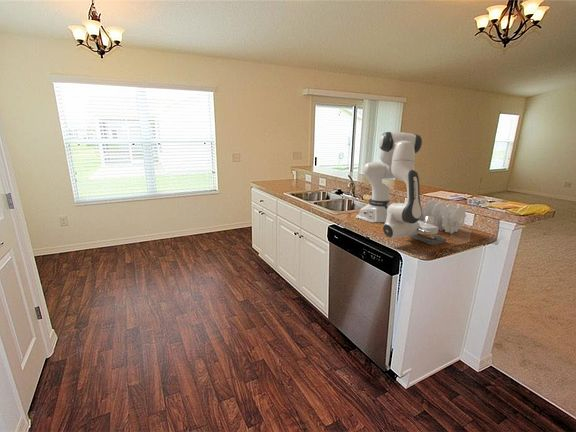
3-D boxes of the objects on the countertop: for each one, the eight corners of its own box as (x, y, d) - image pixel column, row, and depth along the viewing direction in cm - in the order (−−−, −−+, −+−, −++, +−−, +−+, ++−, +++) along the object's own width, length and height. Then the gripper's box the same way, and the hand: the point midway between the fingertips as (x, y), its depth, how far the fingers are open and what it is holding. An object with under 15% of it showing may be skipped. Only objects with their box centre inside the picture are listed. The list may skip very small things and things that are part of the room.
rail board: (397, 231, 175) (397, 228, 175) (409, 229, 179) (410, 226, 179) (432, 245, 153) (432, 241, 153) (445, 242, 157) (446, 239, 157)
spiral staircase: (425, 229, 192) (463, 238, 171) (409, 221, 183) (447, 230, 162) (434, 203, 192) (474, 209, 171) (419, 194, 183) (459, 199, 162)
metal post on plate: (416, 233, 165) (418, 214, 162) (423, 232, 167) (425, 213, 164) (432, 239, 156) (435, 219, 153) (439, 237, 158) (442, 218, 155)
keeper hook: (431, 238, 157) (432, 235, 157) (435, 237, 158) (436, 234, 158) (437, 240, 154) (437, 237, 154) (441, 239, 155) (441, 236, 155)
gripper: (427, 226, 145) (447, 223, 150) (397, 216, 163) (415, 214, 168) (425, 238, 147) (445, 235, 152) (396, 227, 165) (414, 224, 170)
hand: (429, 224), depth 160 cm, fingers closed on metal post on plate, 4 cm apart
